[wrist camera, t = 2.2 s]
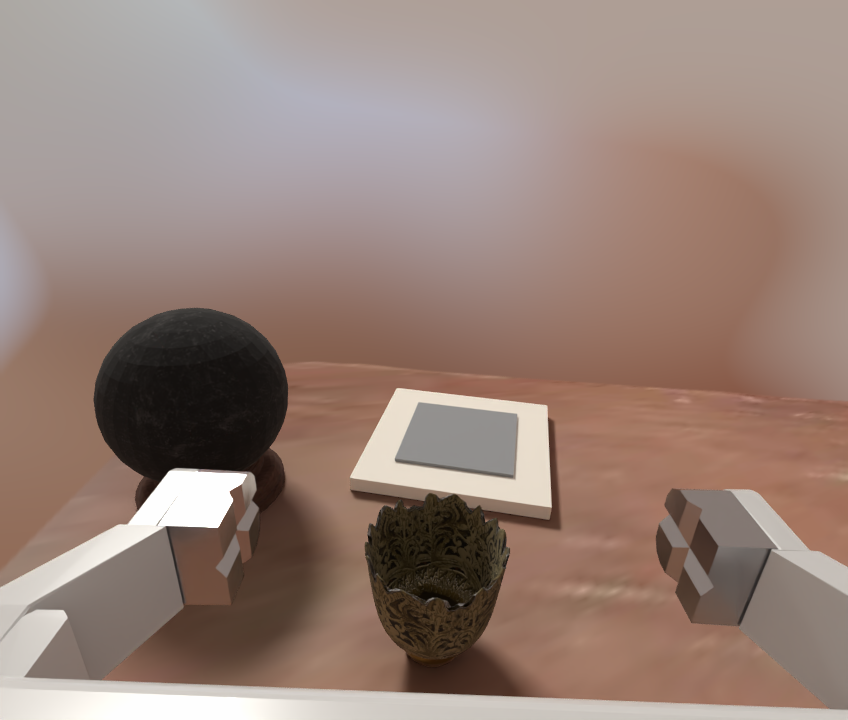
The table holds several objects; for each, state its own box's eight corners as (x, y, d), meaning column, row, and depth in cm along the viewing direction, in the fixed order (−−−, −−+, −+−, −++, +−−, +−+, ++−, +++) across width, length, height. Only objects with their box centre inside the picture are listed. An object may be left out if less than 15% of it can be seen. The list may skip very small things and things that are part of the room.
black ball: (105, 564, 34) (41, 361, 28) (137, 454, 46) (97, 292, 39) (305, 524, 38) (288, 338, 32) (289, 431, 50) (274, 281, 43)
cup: (470, 580, 34) (479, 482, 31) (517, 688, 28) (535, 579, 24) (358, 603, 32) (354, 502, 29) (380, 724, 26) (378, 612, 22)
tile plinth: (545, 415, 54) (547, 402, 53) (549, 519, 39) (552, 504, 39) (397, 397, 56) (397, 385, 56) (350, 489, 42) (349, 474, 41)
